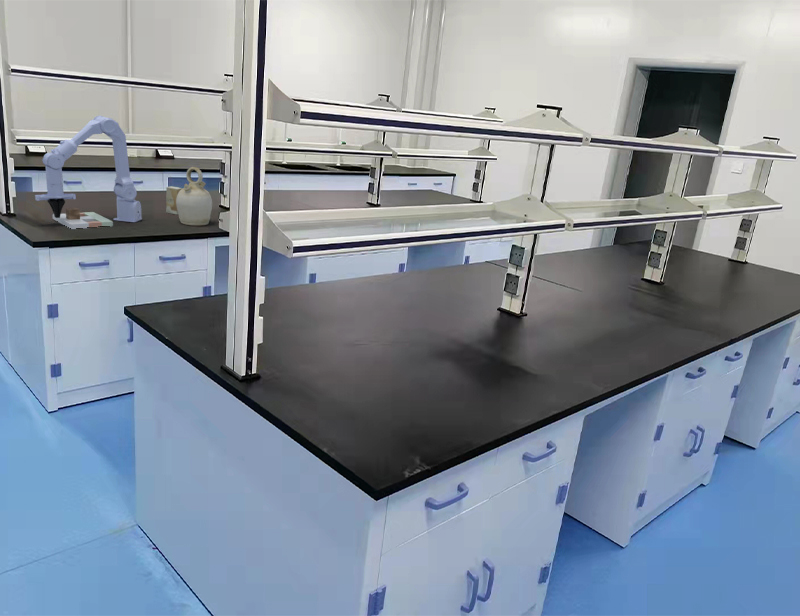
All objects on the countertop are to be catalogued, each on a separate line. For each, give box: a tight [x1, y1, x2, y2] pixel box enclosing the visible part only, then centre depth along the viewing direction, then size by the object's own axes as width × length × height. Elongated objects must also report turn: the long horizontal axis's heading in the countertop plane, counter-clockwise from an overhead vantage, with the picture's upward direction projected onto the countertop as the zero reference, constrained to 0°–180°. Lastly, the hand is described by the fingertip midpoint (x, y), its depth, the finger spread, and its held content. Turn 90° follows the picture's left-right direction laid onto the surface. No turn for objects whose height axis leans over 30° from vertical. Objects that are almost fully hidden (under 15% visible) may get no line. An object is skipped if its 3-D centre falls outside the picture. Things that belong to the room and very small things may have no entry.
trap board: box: [52, 211, 114, 230], centre depth 263 cm, size 16×20×2 cm
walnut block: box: [64, 207, 81, 220], centre depth 259 cm, size 4×4×4 cm
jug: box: [176, 166, 213, 226], centre depth 280 cm, size 15×16×25 cm
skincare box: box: [165, 185, 184, 215], centre depth 297 cm, size 6×4×12 cm
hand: (57, 217), depth 255 cm, fingers closed
